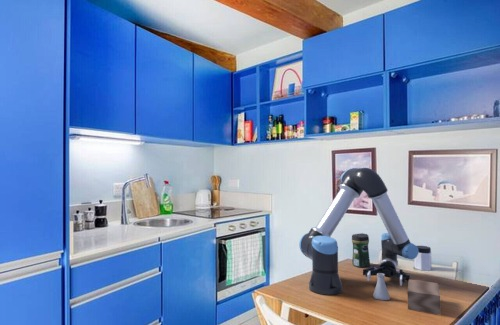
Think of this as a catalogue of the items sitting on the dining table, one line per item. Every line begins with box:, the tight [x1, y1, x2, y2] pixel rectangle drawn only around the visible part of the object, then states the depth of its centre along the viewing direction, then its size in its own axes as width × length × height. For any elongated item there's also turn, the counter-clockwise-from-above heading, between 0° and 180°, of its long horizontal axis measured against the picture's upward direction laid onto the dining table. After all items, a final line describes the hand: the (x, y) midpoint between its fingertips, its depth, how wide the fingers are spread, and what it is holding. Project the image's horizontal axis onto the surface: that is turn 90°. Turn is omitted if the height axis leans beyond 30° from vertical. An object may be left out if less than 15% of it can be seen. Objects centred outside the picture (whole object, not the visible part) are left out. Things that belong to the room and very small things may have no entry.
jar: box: [413, 245, 432, 272], centre depth 178 cm, size 9×8×12 cm
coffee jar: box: [351, 232, 371, 268], centre depth 185 cm, size 10×8×19 cm
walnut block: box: [406, 278, 442, 316], centre depth 128 cm, size 11×16×7 cm
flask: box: [372, 273, 391, 301], centre depth 136 cm, size 7×7×10 cm
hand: (383, 280), depth 140 cm, fingers open, 13 cm apart
